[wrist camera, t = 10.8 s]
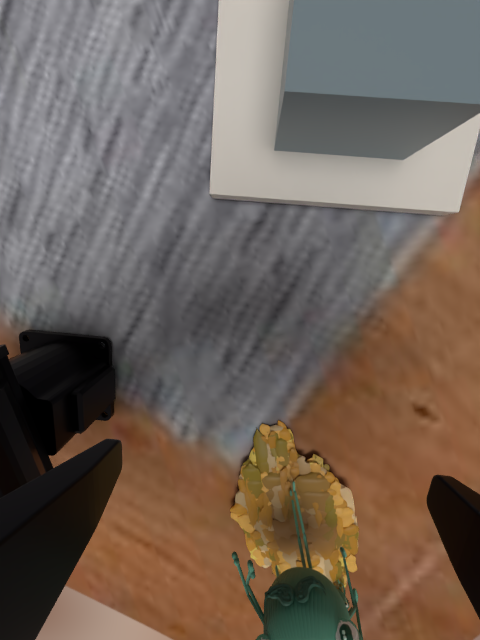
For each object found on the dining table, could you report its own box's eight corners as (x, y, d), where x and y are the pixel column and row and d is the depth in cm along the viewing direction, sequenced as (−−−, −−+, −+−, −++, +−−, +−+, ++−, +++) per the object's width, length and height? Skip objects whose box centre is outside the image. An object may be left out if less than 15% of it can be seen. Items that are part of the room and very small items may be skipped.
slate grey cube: (274, 150, 16) (284, 91, 10) (290, -9, 14) (314, -195, 8) (403, 160, 15) (492, 105, 10) (435, -1, 14) (568, -187, 8)
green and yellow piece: (261, 600, 26) (252, 1011, 11) (212, 417, 24) (126, 630, 9) (369, 590, 25) (514, 1036, 10) (327, 396, 23) (433, 603, 8)
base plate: (213, 198, 18) (199, 181, 13) (226, -47, 15) (213, -171, 10) (441, 215, 17) (504, 203, 13) (501, -36, 14) (607, -160, 10)
